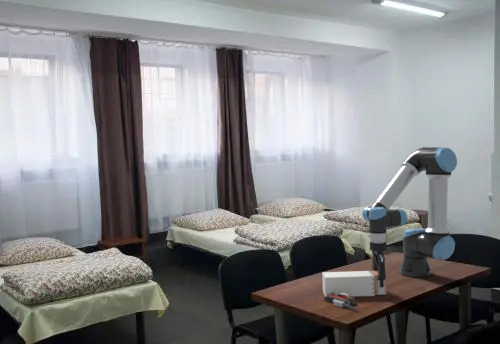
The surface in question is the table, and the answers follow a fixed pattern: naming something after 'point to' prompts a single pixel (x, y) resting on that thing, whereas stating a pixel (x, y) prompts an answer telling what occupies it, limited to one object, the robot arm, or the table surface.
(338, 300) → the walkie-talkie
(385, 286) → the peach rectangular block
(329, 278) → the block
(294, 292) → the table surface
